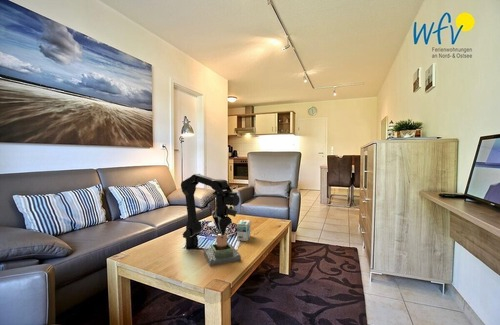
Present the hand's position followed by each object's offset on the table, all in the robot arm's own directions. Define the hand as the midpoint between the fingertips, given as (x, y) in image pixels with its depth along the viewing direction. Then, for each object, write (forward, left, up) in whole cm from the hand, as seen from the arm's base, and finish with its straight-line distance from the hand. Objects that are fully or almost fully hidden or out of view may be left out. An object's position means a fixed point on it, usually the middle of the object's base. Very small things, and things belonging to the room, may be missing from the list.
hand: (221, 232), depth 127 cm
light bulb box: (+21, +21, -13) cm, 32 cm away
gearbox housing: (0, -1, -13) cm, 13 cm away
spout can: (0, -1, -10) cm, 10 cm away
